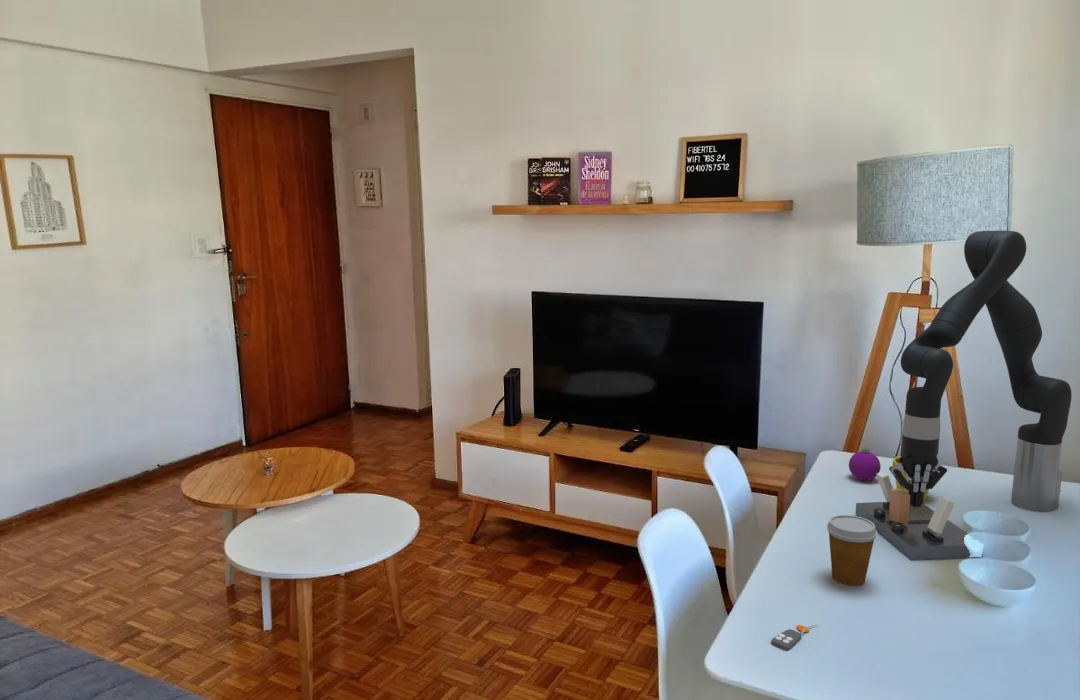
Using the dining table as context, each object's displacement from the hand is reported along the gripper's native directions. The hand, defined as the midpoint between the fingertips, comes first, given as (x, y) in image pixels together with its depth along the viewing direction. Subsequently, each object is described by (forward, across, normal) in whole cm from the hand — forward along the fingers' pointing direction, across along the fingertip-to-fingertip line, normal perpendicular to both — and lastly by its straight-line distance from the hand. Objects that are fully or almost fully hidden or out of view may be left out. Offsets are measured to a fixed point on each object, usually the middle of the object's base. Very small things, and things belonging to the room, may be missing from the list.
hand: (915, 505), depth 171 cm
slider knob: (+4, +4, 0) cm, 5 cm away
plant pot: (+7, -12, -22) cm, 26 cm away
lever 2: (+3, 0, +8) cm, 9 cm away
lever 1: (+3, 0, -9) cm, 9 cm away
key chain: (+8, +43, +38) cm, 58 cm away
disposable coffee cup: (+7, +24, +19) cm, 32 cm away
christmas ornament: (+7, -6, -36) cm, 37 cm away
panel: (+7, 0, 0) cm, 7 cm away
